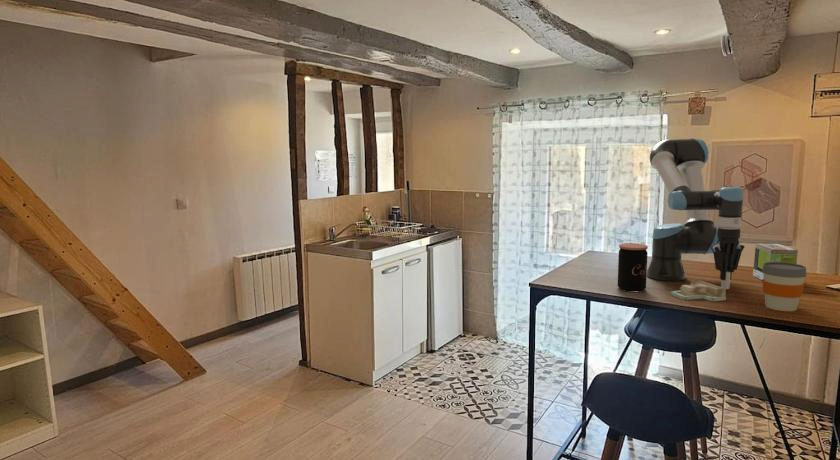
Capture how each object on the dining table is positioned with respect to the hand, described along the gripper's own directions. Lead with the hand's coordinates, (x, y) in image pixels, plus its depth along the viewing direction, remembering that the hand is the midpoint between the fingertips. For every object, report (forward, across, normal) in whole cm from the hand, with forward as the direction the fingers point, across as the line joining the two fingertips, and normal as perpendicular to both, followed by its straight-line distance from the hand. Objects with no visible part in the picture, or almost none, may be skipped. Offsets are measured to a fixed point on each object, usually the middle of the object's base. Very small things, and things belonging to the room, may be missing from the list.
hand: (725, 287), depth 197 cm
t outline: (+2, -13, 0) cm, 13 cm away
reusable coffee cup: (+2, +4, -21) cm, 21 cm away
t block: (+2, -12, 0) cm, 12 cm away
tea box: (+2, +33, +11) cm, 35 cm away
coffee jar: (+2, -31, +14) cm, 34 cm away
